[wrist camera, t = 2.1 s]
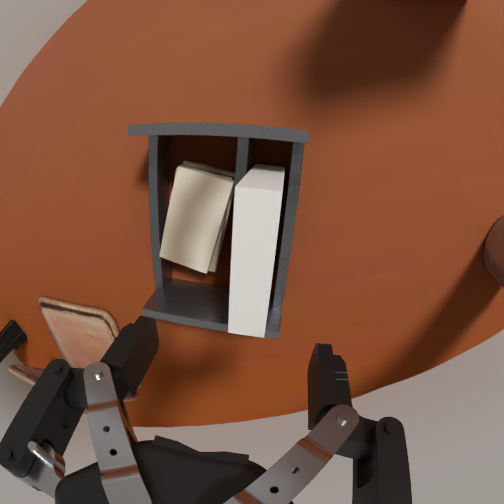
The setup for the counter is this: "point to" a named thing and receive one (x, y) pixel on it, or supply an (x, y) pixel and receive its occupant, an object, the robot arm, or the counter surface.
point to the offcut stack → (198, 216)
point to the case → (74, 336)
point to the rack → (213, 296)
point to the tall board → (254, 248)
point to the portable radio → (10, 339)
